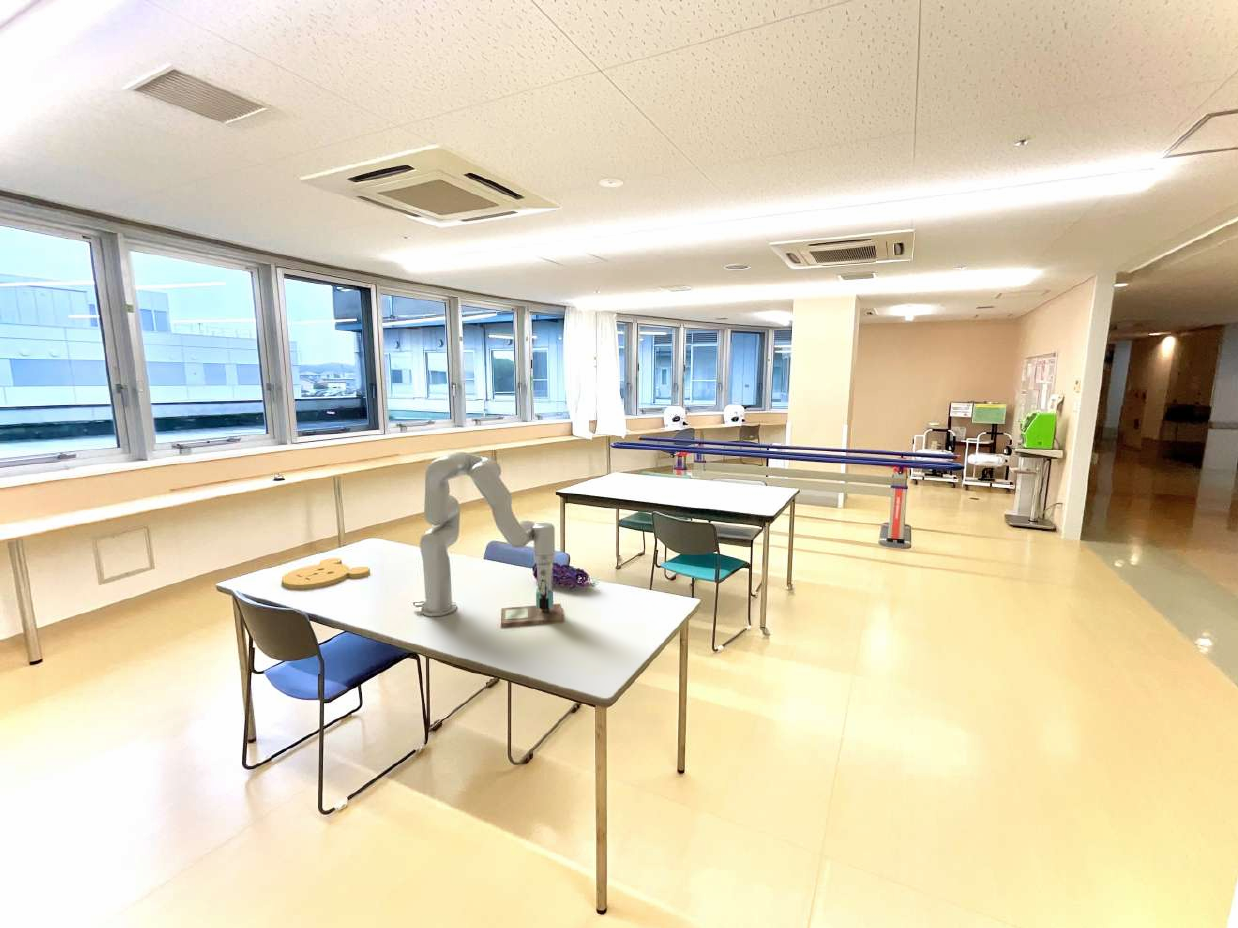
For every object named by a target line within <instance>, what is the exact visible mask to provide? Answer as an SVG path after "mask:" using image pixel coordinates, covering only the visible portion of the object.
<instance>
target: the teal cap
mask: <svg viewBox="0 0 1238 928" xmlns="http://www.w3.org/2000/svg"><path fill="white" fill-rule="evenodd" d="M545 590H547V588H545ZM535 592H536V593H535V599H536V600H535V602H536V603H535V606H536V607H538V608H540V600H539V598H540V591H539V590H538V587H536V591H535ZM545 593H546V592H545ZM548 598H549V608H550V607H553V604H554V588H553V587H552V590H551V591H550V590H548Z"/></svg>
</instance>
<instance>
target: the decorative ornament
mask: <svg viewBox="0 0 1238 928" xmlns="http://www.w3.org/2000/svg"><path fill="white" fill-rule="evenodd" d="M552 565H553V583H554V585H555V588H556V587H558V588H559V587H570V588H569V589H568V591H570V590H571V589H573V588H577V587H583V588H584V587H585V588H588V589H589V588H594V587H596V586H597V585H598V584H599V582H598V581H597V580H594V579H592V581H591V578H590V575H589V573H588V572H587V571H585V569H583V568H581V569H580V568H579V567H578V568H577V567H574V566H571V565H567V564H564V563H563V564H560V563H559V562H554V563H552ZM531 569H532V575H533V577H534V579H536V580H535V581H537V582H538V579H537V564H536V563H534V565H532V568H531Z"/></svg>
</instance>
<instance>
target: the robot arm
mask: <svg viewBox="0 0 1238 928" xmlns="http://www.w3.org/2000/svg"><path fill="white" fill-rule="evenodd" d="M501 473H502V468H501V465H500V464H499V463H498V462H497V461H496V460H494V459H492V458H489V457H485V456H480V455H477V454H473V453H470V452H464V451H461V452H460V451H458V452H454V453H451V454H447V455H444V456H441V457H439V458H436V459H435V460H433V461H431V462H430V464H429V465H428V466H427V468H426V470H425V475H424V483H425V484H424V486H425V487H424V503H423V505H424V509H423V516H424V520H425V522H426V523H427V524H428V525H431V526H433V527H431V528H430V529H427V530H426V531H425V532H424V533H423V534H422V535H421V537H420V540H419V549H420V553H421V558H422V567H423V582H424V585H423V586H424V598H422V599H420V600H419V599H415V600H413V601H412V605H413V607H415V608H421V614H422V615H423V616H427V617H442V616H446V615H448V614H449V615H450V614H452V613H453V612H454V611H456V609H457V603H456V602H455V601H453V595H452V594H453V592H452V591H453V590H452V574H451V573H452V571H451V570H452V569H451V568H452V567H451V561H450V556H449V553H448V549H449V548H450V547H451V546H453V545H454V544H456V543H457V541H458V538H459V537H460V536H459V535H460V522H461V521H460V520H461V508H460V503H459V501H458V499H456V497H455V496H453V495H451V494H450V491H451V490H450V489H451V488H450V483H449V480H452V479H455V478H458V477H461V476H463V475H464V476H468V477H470V479H471V481H472V482H473V484H474V485H475V486H476V488H477V490H478V492H479V493H480V494H481V495H482V497H483V498H484V500H486V502H487V504H488V505H489V506H490V508H491V509H490V510H491V512H492V516H493V519H494V522H495V524H496V527H497V528H498V531H499V532H500V533H501V535H502V536H503V538H504V540H506V542H507V543H508V544H509V545H511V547H512V548H513V547H514V548H516V549H521V548H523V547H525V546H527V545H528V544H529V543H530V542H533V563H534V564H535V563H536V564H537V579H538V581H537V588H538V590H539V591H540V598H539V600H540V609H548V608H549V598H548V590H550V591H551V590H552V588H553V583H554V582H553V580H554V579H553V565H552V563H554V562H555V561H556V537H555V536H556V535H555V534H556V533H555V532H556V531H555V526H554V524H552V523H549V522H541V523H540V522H535V521H531V520H522V521H521V522H519V521H518V519H517V518H516V516H515V514H514V512H513V509H512V508H513V507H512V503H513V502H512V500H513V499H512V498H513V497H512V493H511V491H510V490H509V489H508V488H507V486H506V484H504V482H503V480H502V479H501V477H500V476H501ZM555 563H556V562H555ZM545 588H547V590H545ZM545 592H546V593H545Z"/></svg>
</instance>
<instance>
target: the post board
mask: <svg viewBox="0 0 1238 928" xmlns="http://www.w3.org/2000/svg"><path fill="white" fill-rule="evenodd" d="M556 623H557V624H558V623H565V616H564V614H563V608H562V604H561V603H553V607H550V608H548V609H540V608H538V607H536V605H526V606H514V607H511V606H510V607H501V609H500V628H509V627H510V628H511V627H512V628H513V627H521V626H534V625H544V624H545V625H547V624H556Z"/></svg>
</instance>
